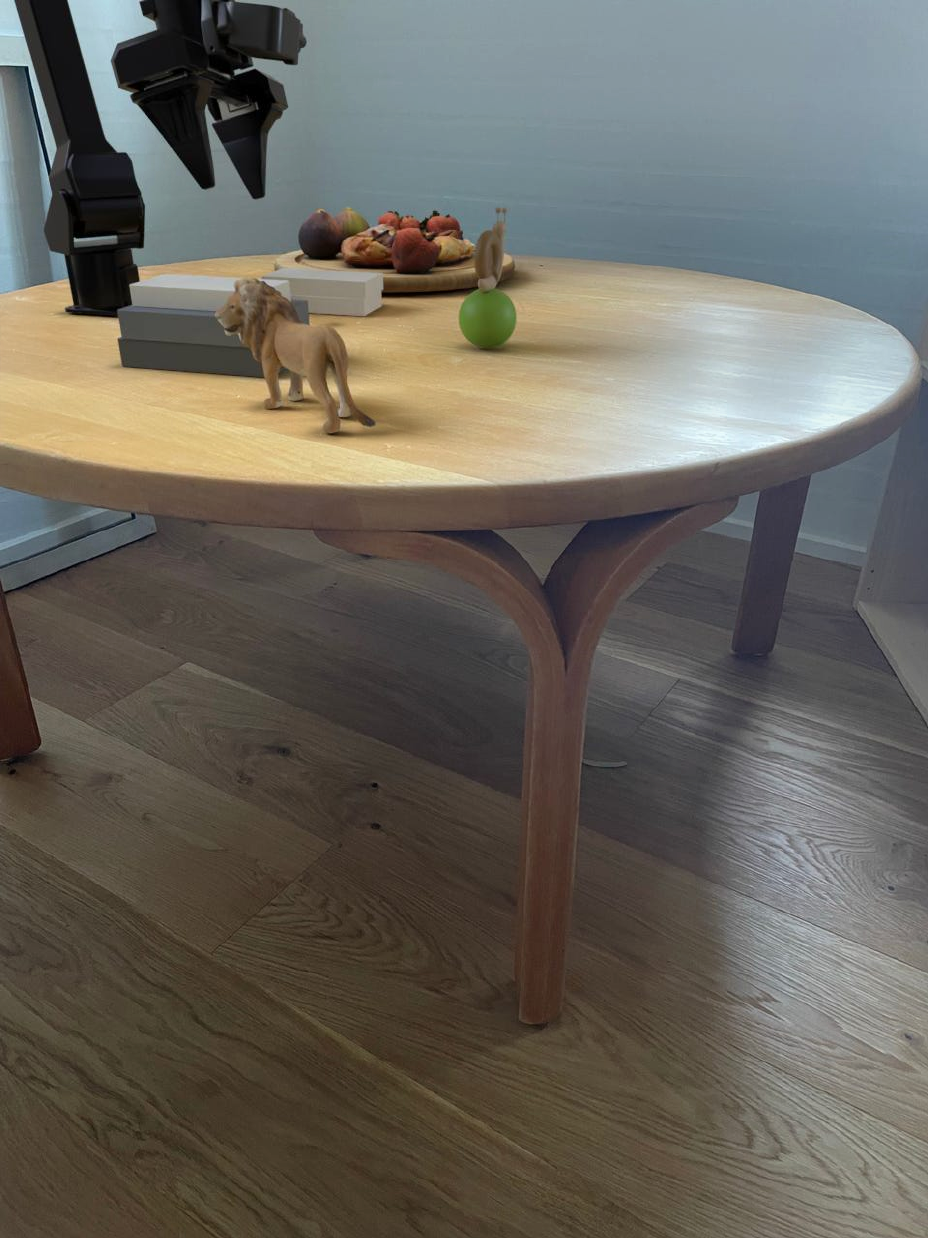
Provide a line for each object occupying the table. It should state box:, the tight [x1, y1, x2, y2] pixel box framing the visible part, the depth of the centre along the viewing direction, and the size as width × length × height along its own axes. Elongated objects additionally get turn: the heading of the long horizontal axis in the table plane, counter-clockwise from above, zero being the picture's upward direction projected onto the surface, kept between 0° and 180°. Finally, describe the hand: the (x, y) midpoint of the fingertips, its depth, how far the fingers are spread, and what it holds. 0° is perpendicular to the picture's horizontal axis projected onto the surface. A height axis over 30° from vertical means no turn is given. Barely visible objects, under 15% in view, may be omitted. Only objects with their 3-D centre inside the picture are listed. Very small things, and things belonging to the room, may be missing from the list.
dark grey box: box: [117, 299, 311, 379], centre depth 81 cm, size 14×9×5 cm, turn 76°
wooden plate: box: [273, 206, 516, 293], centre depth 122 cm, size 32×32×8 cm
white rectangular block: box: [129, 273, 291, 312], centre depth 80 cm, size 12×6×2 cm, turn 76°
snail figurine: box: [458, 206, 518, 349], centre depth 85 cm, size 5×6×12 cm
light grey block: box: [260, 268, 383, 317], centre depth 103 cm, size 12×6×4 cm, turn 76°
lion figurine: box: [215, 277, 376, 434], centre depth 66 cm, size 15×5×9 cm, turn 50°
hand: (235, 193), depth 78 cm, fingers open, 9 cm apart
